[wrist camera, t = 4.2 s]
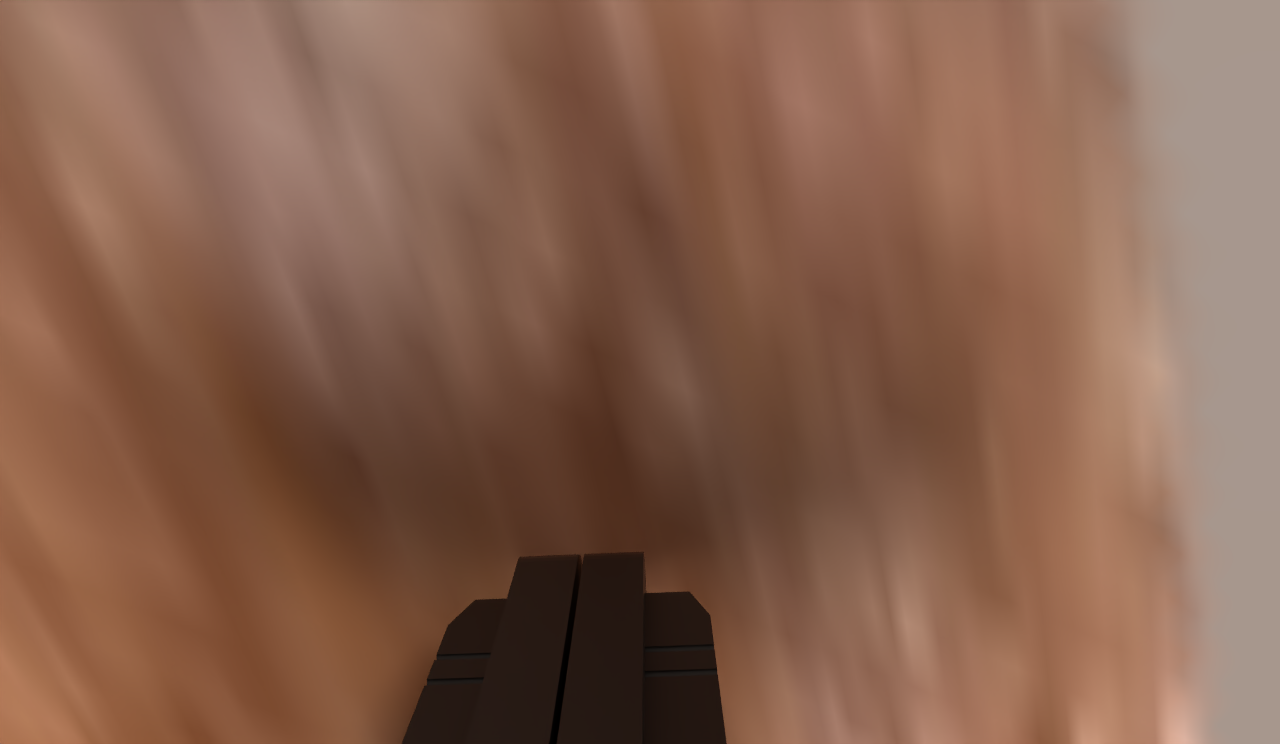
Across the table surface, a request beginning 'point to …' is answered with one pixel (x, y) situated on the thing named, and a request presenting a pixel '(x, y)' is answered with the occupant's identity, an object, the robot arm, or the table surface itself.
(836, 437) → the table surface
